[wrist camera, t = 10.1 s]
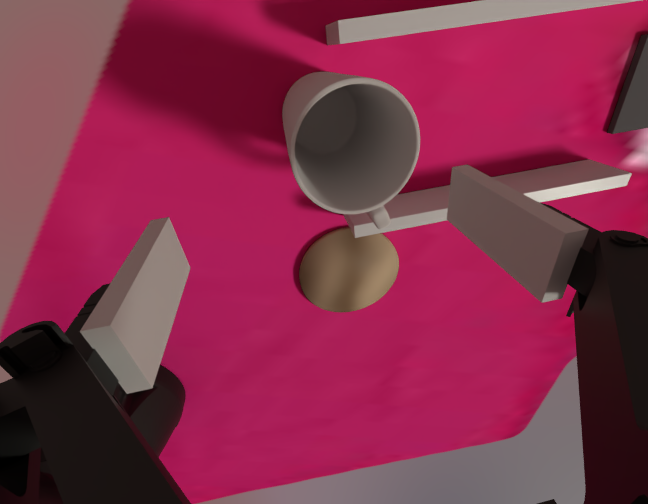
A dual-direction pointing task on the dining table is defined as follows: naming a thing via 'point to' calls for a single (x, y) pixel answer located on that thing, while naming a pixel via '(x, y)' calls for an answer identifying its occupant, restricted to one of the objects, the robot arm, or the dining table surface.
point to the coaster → (348, 270)
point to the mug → (350, 142)
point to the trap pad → (633, 94)
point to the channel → (536, 184)
